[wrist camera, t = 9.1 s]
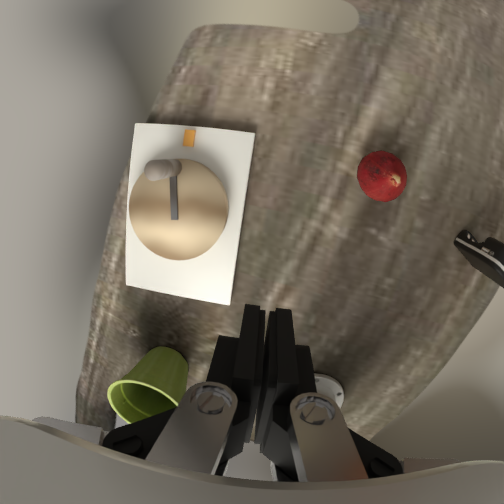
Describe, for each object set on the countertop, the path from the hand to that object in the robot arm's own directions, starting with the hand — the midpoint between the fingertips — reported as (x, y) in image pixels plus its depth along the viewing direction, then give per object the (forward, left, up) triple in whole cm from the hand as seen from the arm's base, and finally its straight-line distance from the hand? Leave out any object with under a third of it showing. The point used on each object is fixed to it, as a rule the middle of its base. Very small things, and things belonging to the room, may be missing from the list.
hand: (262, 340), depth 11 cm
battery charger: (+1, -31, -27) cm, 41 cm away
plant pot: (-27, +12, -27) cm, 40 cm away
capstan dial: (-1, +11, -25) cm, 27 cm away
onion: (+7, -12, -27) cm, 31 cm away
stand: (-2, +11, -27) cm, 29 cm away
